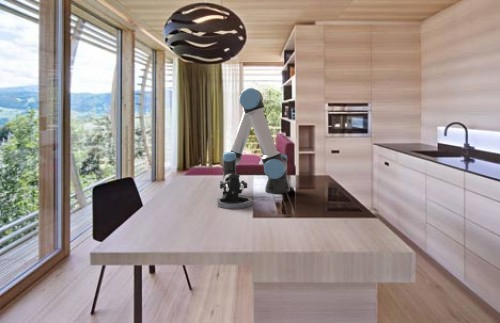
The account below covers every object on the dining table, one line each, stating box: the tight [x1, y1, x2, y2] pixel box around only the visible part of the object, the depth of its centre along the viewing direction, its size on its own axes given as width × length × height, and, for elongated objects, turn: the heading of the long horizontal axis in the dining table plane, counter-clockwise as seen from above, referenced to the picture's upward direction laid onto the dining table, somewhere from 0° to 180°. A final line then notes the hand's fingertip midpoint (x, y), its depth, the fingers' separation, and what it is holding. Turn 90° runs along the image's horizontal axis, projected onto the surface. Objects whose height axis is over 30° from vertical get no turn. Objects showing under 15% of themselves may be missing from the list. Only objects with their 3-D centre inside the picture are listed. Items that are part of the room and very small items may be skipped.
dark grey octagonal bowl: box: [216, 195, 253, 210], centre depth 210 cm, size 18×18×2 cm
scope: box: [221, 173, 243, 202], centre depth 209 cm, size 8×14×10 cm
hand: (235, 188), depth 204 cm, fingers closed on scope, 7 cm apart
